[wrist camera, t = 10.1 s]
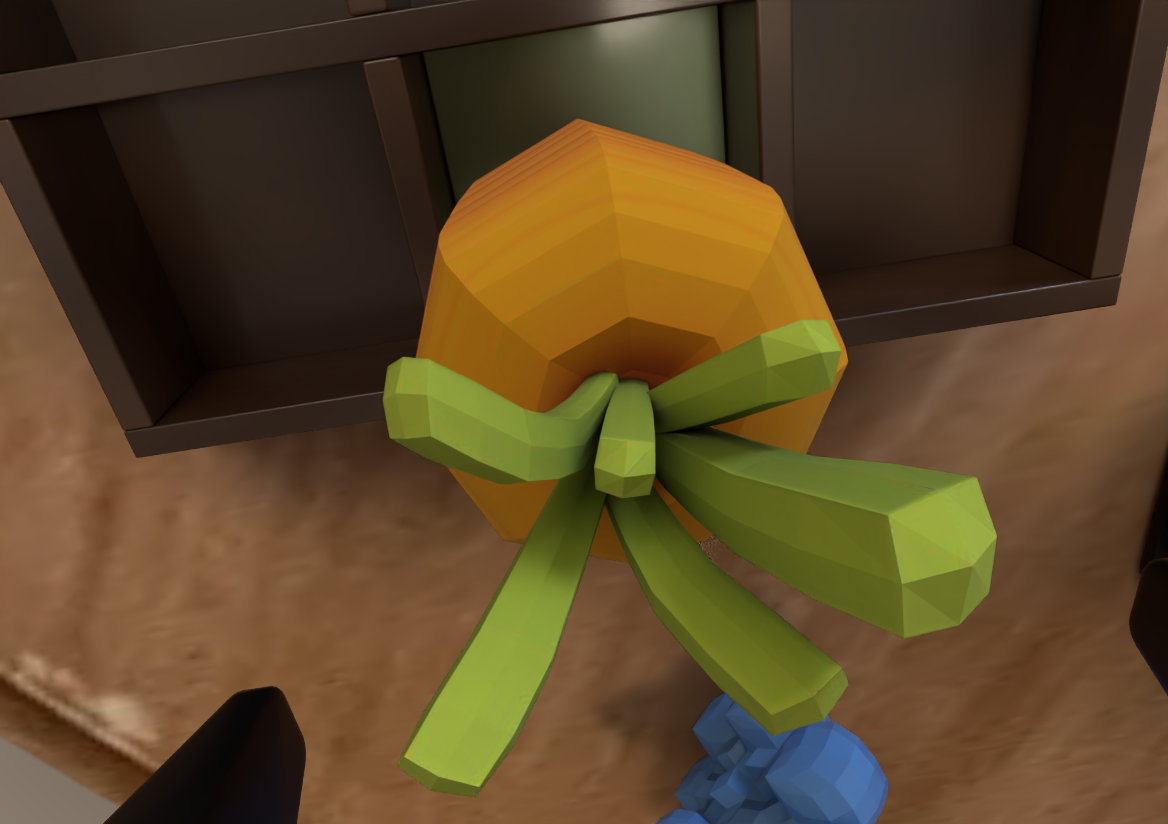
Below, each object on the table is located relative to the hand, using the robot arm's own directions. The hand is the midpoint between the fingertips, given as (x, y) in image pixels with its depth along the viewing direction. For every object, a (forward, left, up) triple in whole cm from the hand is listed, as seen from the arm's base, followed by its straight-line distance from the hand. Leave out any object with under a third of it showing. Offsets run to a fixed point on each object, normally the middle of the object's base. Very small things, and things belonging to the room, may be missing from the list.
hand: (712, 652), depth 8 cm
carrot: (+2, +1, -12) cm, 13 cm away
